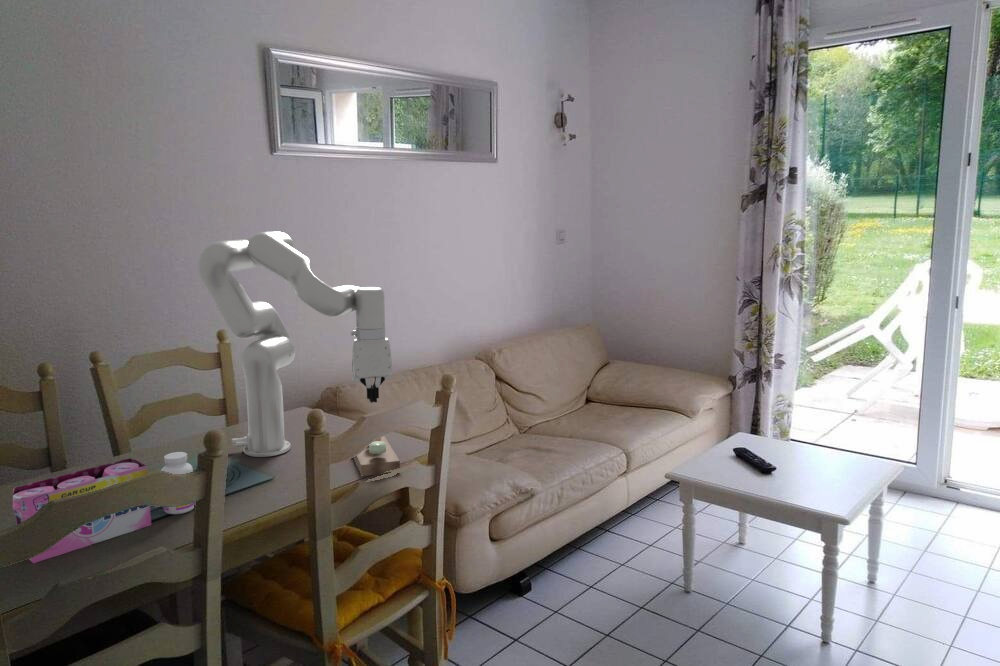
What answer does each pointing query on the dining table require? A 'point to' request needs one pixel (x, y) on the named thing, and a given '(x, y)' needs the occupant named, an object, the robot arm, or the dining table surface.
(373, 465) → the button panel
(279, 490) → the dining table surface
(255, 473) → the dining table surface
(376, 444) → the sage green button
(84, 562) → the dining table surface
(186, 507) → the supplement bottle
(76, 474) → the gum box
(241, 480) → the dining table surface
